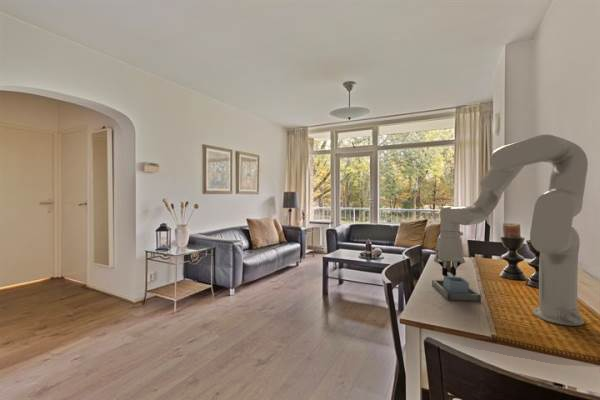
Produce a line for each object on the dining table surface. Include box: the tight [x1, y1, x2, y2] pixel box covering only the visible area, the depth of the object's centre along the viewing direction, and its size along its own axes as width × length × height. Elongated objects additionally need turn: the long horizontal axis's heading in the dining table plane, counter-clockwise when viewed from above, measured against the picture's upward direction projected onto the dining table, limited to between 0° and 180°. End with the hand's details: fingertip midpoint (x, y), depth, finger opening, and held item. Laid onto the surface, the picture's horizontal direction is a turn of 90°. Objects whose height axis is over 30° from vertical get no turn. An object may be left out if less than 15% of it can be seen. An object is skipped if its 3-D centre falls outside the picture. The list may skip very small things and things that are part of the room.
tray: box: [431, 279, 482, 303], centre depth 121 cm, size 19×12×2 cm, turn 172°
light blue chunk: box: [443, 272, 470, 294], centre depth 122 cm, size 7×13×5 cm, turn 172°
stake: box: [446, 261, 452, 273], centre depth 137 cm, size 3×3×13 cm
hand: (448, 276), depth 126 cm, fingers closed on light blue chunk, 2 cm apart
